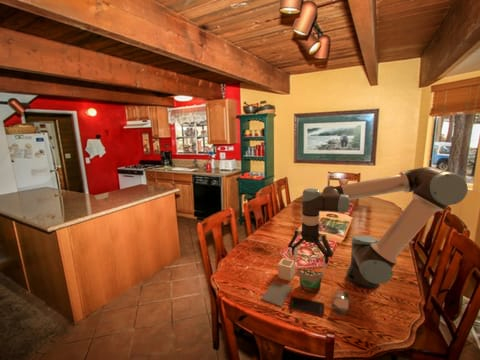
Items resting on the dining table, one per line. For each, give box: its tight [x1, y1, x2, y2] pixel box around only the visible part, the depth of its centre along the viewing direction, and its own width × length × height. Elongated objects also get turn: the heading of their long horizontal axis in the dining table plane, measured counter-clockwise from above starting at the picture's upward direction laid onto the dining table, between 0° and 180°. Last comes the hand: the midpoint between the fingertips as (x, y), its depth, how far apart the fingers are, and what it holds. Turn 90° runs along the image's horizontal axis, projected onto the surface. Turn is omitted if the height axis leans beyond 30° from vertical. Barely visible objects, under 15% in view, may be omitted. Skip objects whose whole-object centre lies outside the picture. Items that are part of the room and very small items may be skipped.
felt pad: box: [260, 280, 294, 308], centre depth 114 cm, size 10×15×1 cm, turn 148°
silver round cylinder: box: [331, 290, 351, 316], centre depth 102 cm, size 8×6×6 cm
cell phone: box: [288, 296, 325, 318], centre depth 104 cm, size 8×15×1 cm, turn 68°
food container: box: [297, 267, 324, 295], centre depth 113 cm, size 12×6×10 cm, turn 70°
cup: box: [277, 257, 296, 283], centre depth 126 cm, size 7×7×8 cm
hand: (309, 265), depth 112 cm, fingers open, 13 cm apart
